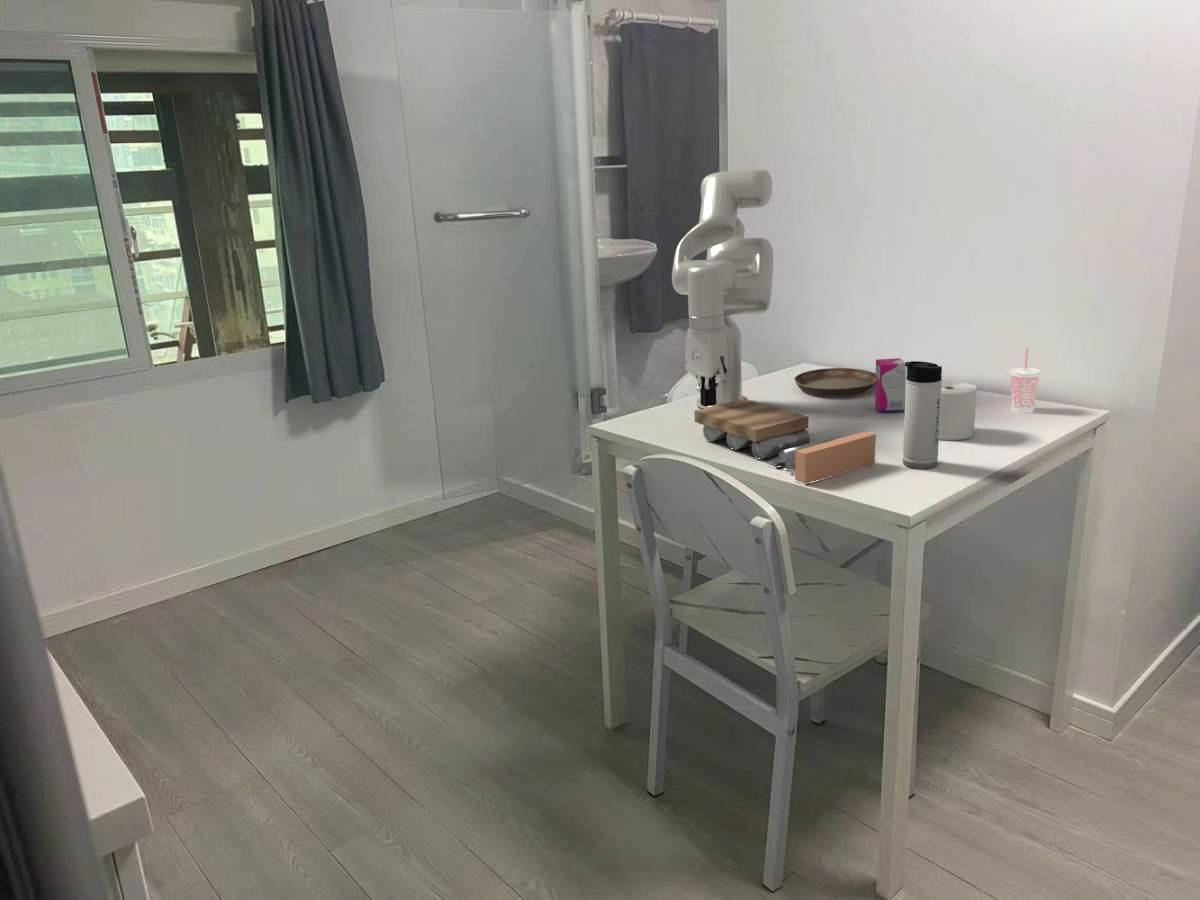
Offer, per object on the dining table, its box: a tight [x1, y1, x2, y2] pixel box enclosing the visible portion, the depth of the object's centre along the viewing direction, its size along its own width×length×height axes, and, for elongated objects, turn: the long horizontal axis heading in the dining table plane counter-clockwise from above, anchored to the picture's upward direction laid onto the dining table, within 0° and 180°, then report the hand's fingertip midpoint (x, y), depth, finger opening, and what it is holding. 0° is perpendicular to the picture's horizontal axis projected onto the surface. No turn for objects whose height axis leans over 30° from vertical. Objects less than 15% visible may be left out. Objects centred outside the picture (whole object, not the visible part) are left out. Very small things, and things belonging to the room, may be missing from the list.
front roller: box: [751, 429, 811, 460], centre depth 186 cm, size 4×12×4 cm, turn 121°
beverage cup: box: [1009, 347, 1042, 413], centre depth 203 cm, size 6×6×14 cm
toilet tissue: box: [939, 380, 978, 441], centre depth 191 cm, size 11×12×10 cm
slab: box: [693, 399, 810, 442], centre depth 193 cm, size 20×14×2 cm
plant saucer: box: [793, 367, 876, 398], centre depth 232 cm, size 21×21×3 cm
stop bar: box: [794, 431, 877, 484], centre depth 173 cm, size 2×18×6 cm, turn 121°
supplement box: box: [874, 357, 907, 414], centre depth 211 cm, size 6×6×12 cm
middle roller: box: [726, 433, 753, 451], centre depth 193 cm, size 4×12×4 cm, turn 121°
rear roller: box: [702, 425, 728, 442], centre depth 199 cm, size 4×12×4 cm, turn 121°
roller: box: [778, 437, 836, 469], centre depth 179 cm, size 12×4×4 cm, turn 121°
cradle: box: [767, 457, 795, 474], centre depth 180 cm, size 8×14×1 cm, turn 121°
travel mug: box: [902, 360, 943, 470], centre depth 173 cm, size 6×7×20 cm
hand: (708, 404), depth 204 cm, fingers closed
